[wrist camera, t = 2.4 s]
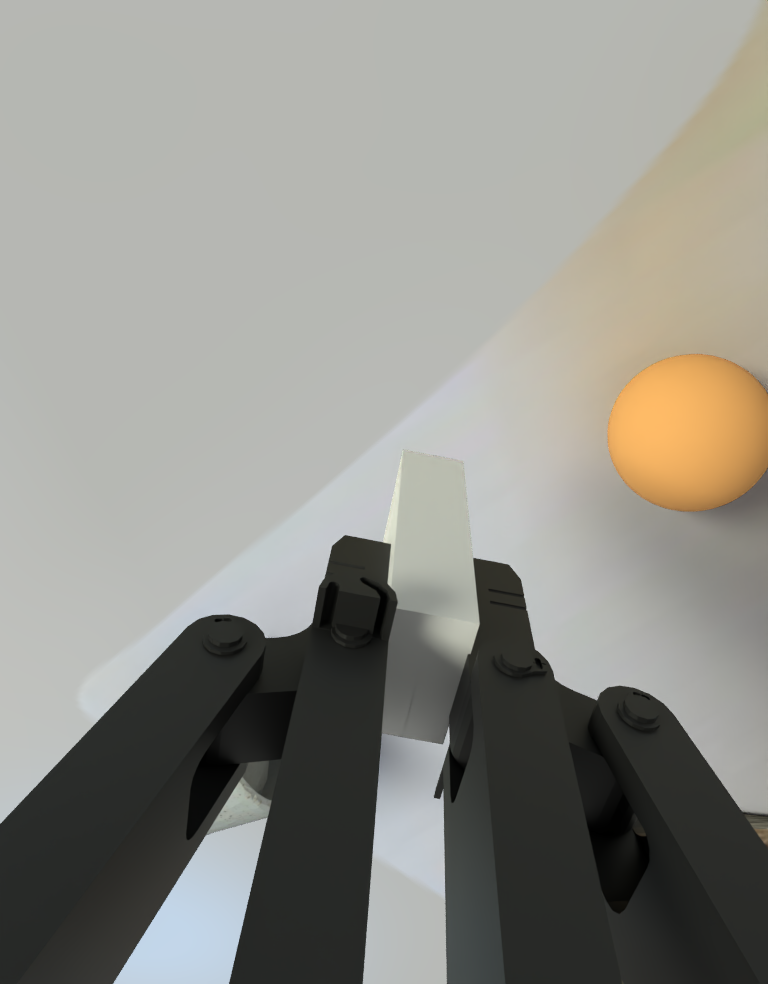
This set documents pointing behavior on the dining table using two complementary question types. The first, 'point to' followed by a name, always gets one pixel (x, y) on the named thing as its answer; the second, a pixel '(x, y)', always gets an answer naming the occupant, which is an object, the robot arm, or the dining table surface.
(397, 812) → the dining table surface
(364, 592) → the robot arm
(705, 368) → the ball
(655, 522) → the dining table surface
